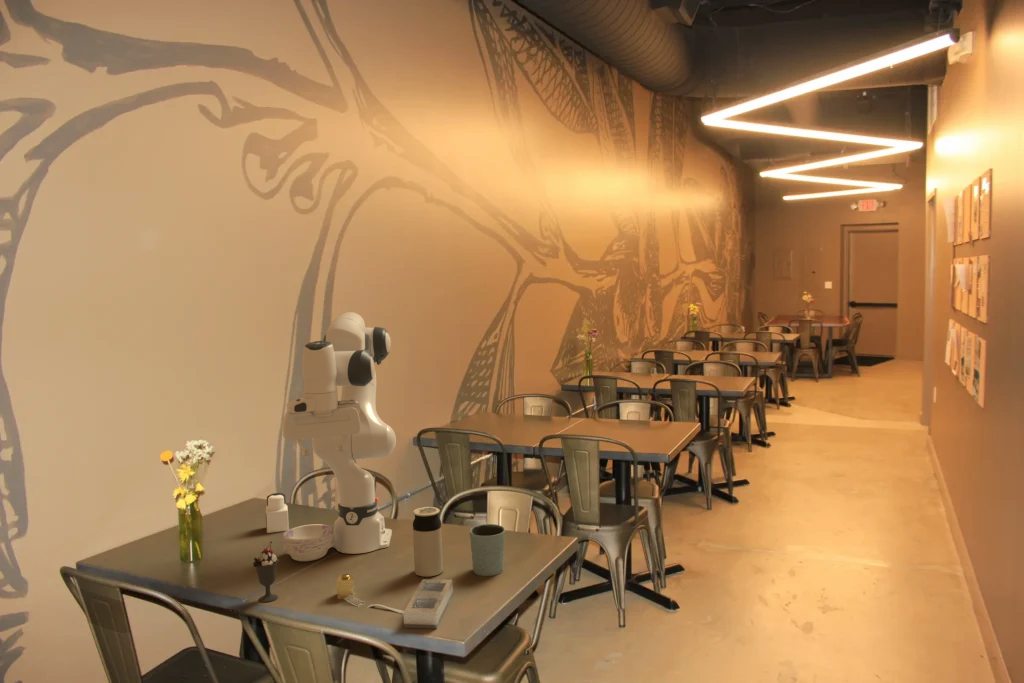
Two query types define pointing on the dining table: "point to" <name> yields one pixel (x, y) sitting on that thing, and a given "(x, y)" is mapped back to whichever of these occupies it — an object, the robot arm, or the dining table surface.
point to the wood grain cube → (346, 586)
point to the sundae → (266, 572)
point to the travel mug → (427, 542)
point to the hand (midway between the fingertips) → (323, 453)
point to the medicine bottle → (276, 513)
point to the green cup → (487, 549)
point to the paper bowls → (308, 541)
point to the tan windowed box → (428, 604)
